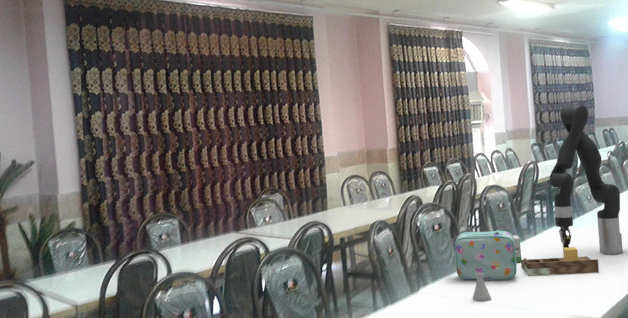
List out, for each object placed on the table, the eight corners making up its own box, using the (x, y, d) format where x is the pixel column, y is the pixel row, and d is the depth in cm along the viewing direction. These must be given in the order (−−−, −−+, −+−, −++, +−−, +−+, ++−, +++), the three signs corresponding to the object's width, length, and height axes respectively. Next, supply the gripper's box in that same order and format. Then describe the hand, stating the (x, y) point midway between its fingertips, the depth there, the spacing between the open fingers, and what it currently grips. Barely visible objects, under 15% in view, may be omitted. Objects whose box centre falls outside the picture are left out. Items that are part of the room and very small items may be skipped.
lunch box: (520, 274, 264) (516, 227, 263) (520, 281, 254) (516, 231, 253) (458, 275, 273) (454, 229, 272) (456, 281, 263) (452, 233, 262)
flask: (469, 297, 239) (467, 273, 238) (487, 295, 239) (485, 270, 239) (476, 302, 231) (474, 277, 231) (494, 300, 232) (492, 275, 232)
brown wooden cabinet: (587, 262, 273) (586, 251, 272) (598, 272, 256) (597, 259, 256) (521, 266, 278) (520, 254, 277) (528, 275, 261) (527, 263, 261)
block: (575, 257, 272) (574, 247, 272) (578, 260, 267) (577, 249, 267) (563, 258, 273) (562, 247, 273) (566, 261, 268) (565, 250, 268)
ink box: (522, 262, 284) (520, 238, 283) (511, 263, 285) (509, 238, 284) (519, 258, 292) (517, 234, 292) (509, 258, 293) (507, 235, 293)
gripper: (575, 217, 269) (578, 255, 270) (568, 212, 282) (571, 248, 283) (558, 218, 270) (561, 256, 271) (551, 213, 283) (554, 249, 284)
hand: (566, 252), depth 277 cm, fingers closed
